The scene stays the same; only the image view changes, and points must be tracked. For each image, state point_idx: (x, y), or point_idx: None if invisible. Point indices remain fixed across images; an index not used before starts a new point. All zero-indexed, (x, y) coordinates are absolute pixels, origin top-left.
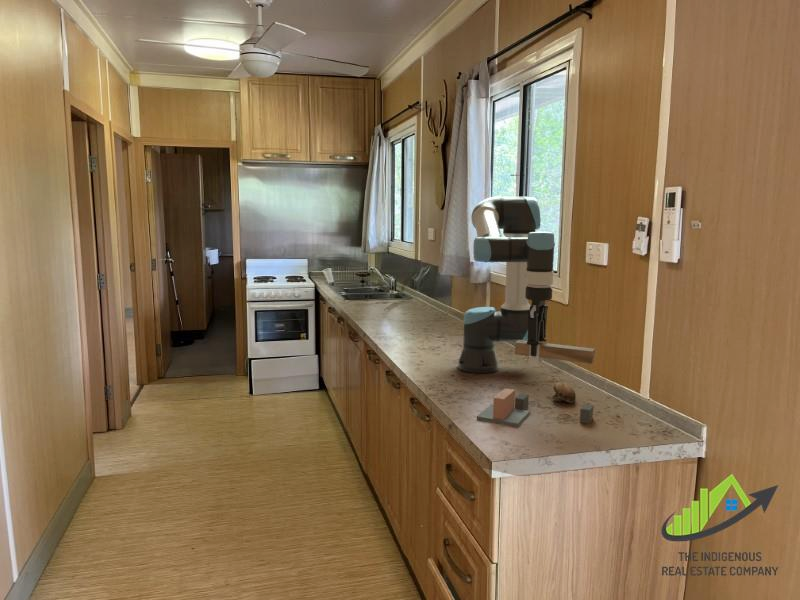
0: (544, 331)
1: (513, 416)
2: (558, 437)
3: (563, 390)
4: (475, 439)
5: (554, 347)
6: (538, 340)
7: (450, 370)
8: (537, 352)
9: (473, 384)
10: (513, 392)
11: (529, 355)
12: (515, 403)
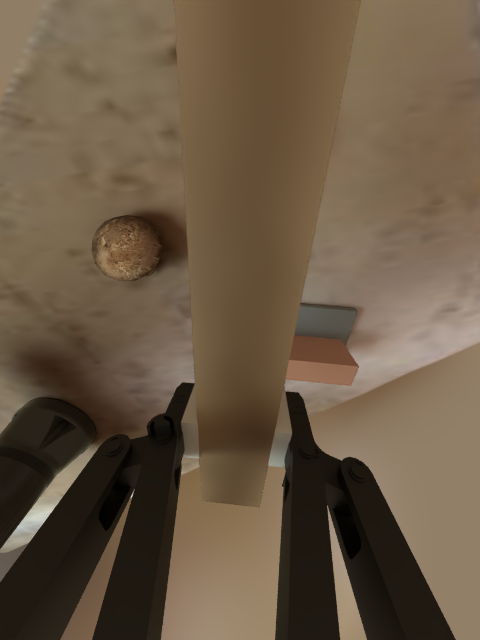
0: (104, 493)
1: (315, 326)
2: (402, 214)
3: (147, 249)
4: (432, 358)
5: (290, 349)
6: (302, 470)
7: None
8: (284, 400)
9: (151, 412)
10: None
11: None
12: None
